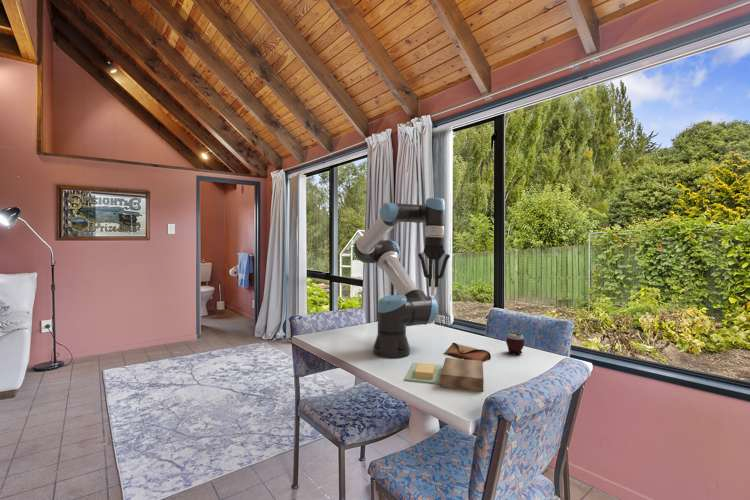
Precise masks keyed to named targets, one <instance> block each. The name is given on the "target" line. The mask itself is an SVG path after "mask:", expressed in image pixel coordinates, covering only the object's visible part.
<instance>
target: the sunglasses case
mask: <svg viewBox="0 0 750 500" xmlns="http://www.w3.org/2000/svg"><path fill="white" fill-rule="evenodd" d="M442 355H444V356H445V355H446V356H451V357H454V358H457V359H466V360H478V361H483V363H484V362H488V361H491V359H492V355H491V353H490V352H489V351H488V350H485V349H480V348H476V347H471V346H467V345H464V344H463V345H462V344H460V343H459V344H458V343H457V342H452V343H451V344H450V346H449V347H448V348H447V349H446V350H445V351H444V353H442Z"/></svg>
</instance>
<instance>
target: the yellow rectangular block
mask: <svg viewBox="0 0 750 500" xmlns="http://www.w3.org/2000/svg"><path fill="white" fill-rule="evenodd" d="M418 363H419V364H418V366H417V368H416V370H415V377H416V378H426V379H433V377H434V373H435V367H436V365H437V364H436V365H433V363H425V364H422V363H423V362H418Z"/></svg>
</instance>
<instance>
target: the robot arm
mask: <svg viewBox="0 0 750 500" xmlns="http://www.w3.org/2000/svg"><path fill="white" fill-rule="evenodd" d="M445 205H446V203H445V199H444V198H443V197H428V198H427V199H426V200H425V204H416V203H415V204H411V203H398V202H397V203H395V202H384V203H383V204H381V206H380V209H379V216H378V218H377V219H376V220H375V222H374V223H373V224H372V225H371V226H370V227H369V228H368V229H367V231H365V232H364V234H363V235H362V236H359V237H358V238H357V239H356V240H355V242H354V244H353V254H354V257H356V259H357V260H359V261H360V262H361V263H364V264H376V265H377V266H378V268H379V269H380V270H383V271H384V272H385V274H386V276H387V277H388V279H389V280H390V283H391V284H392V286H393V287H394V289H395V291H396V293H397V294H395V295H394V294H391V295H386V296H383V297H381V298H380V299H379V300H378V302H377V335H376V338H375V341H374V345H373V348H372V351H373V352H372V353H373V354H374V355H375V356H377V357H380V358H386V359H400V358H404V357H407V356H410V354H411V347H410V344H409V341H408V337H407V333H406V332H407V327H413V326H423V325H425V326H427V325H430V324H433V323H434V322H435V321H436V319H437V317H438V313H439V305H438V302H437V300H436V298H435V296H436V290H437V288H438V287H439V280H440V279H442V278H443V277H444V274H445V271H446V267H447V264H448V260H449V259H450V257H451V254H448V253H447V252H446V249H445V239H444V238H445V237H444V236H445V219H446V218H445V214H446V213H445V212H446V211H445V210H446V207H445ZM398 223H416V224H421V223H425V224H424V225H425V229H424V230H425V231H424V235H425V238H424V249H423V251H422V252H421V253H417V256H418V257H419V259H420V263H421V264H420V265H421V268H422V273H423V276H424V278H427V279H428V281H427V282H428V287H429V288H430V295H429V296H427V295H426V294H425V292H424V290H423V289H420V288H417V286H416V284H415V283H414V281H413V280H412V278H411V277H410V275H409V273H408V271H406V269H405V268H404V266H403V265H402V262H401V261H400V259H401V258H400V257H401V250H400V246H399V244H398V243H397V241H394V240H390V239H384V240H383V238H385V237H386V236H387V235H388V234H389V233H390V231H392V230H393V229H394V228H395V226H397V225H398ZM425 257H426V258H427V259H428V267H427V264H426V259H425ZM442 257H443V258H444V259H443V261H442V265H441V269H440V260H441V258H442ZM433 264H434V265H433ZM433 267H434V270H433ZM433 271H434V274H433ZM433 275H434V278H433ZM433 296H434V297H433Z"/></svg>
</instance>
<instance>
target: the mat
mask: <svg viewBox="0 0 750 500" xmlns="http://www.w3.org/2000/svg"><path fill="white" fill-rule="evenodd" d="M419 363H420V362H416V361H415V362H414V361H413V363H412V364H411V367H410V368H409V370H408V372H407V374H406V376H405V378H404V381H406V382H407V381H408V382H413V383H414V382H415V383H417V382H418V383H423V384H424V383H425V384H432V385H433V384H435V385H441V372H442V369H443V365H444V364H436V363H435V364H433V363H432V364H433V365H436V367H435V373H434V377H433V379H426V378H416V377H415V370H416V368H417V366H418V364H419ZM421 363H422V364H426V362H425V363H424V362H421Z"/></svg>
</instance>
